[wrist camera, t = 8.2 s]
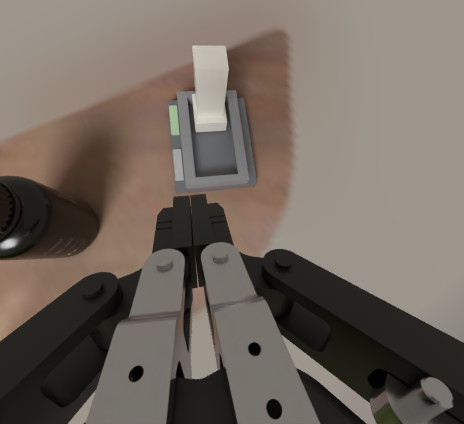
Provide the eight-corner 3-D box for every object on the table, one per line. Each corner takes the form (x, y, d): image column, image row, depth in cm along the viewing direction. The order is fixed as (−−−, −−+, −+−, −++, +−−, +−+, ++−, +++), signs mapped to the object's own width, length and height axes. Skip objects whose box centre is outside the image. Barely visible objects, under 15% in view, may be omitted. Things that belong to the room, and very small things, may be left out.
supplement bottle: (26, 216, 25) (-128, 183, 14) (85, 189, 27) (-9, 138, 15) (50, 270, 25) (-91, 283, 13) (110, 240, 26) (31, 226, 14)
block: (195, 132, 28) (191, 76, 19) (192, 103, 28) (186, 38, 20) (225, 130, 28) (234, 75, 20) (221, 102, 29) (228, 38, 20)
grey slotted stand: (177, 193, 28) (173, 186, 25) (169, 108, 30) (165, 92, 27) (254, 186, 29) (259, 178, 26) (242, 105, 31) (245, 89, 28)
